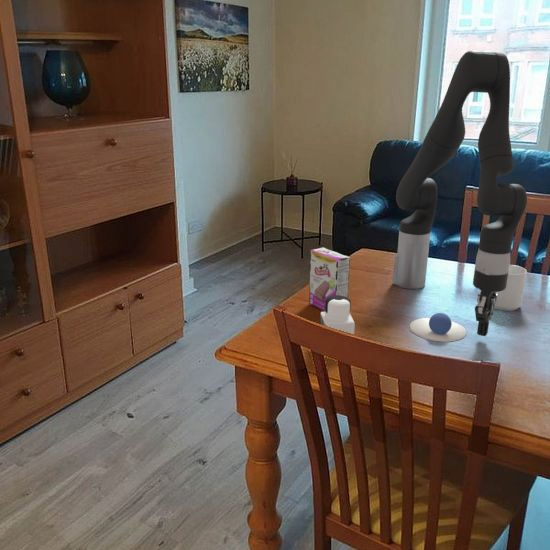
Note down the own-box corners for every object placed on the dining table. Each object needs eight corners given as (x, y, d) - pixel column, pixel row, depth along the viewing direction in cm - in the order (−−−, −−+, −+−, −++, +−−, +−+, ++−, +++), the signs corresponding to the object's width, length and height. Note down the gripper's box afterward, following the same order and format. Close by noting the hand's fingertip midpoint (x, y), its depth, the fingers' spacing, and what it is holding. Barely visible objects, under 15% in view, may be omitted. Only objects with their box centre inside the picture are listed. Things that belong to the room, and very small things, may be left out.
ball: (434, 313, 138) (456, 322, 137) (434, 306, 143) (454, 315, 142) (425, 332, 140) (446, 341, 139) (425, 325, 145) (445, 333, 144)
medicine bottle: (319, 337, 139) (320, 292, 135) (347, 336, 140) (349, 292, 136) (323, 350, 133) (325, 304, 129) (353, 350, 133) (356, 303, 129)
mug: (523, 313, 155) (530, 275, 151) (490, 310, 156) (495, 273, 153) (514, 297, 166) (520, 261, 162) (483, 295, 168) (488, 259, 164)
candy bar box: (307, 304, 159) (309, 249, 154) (320, 300, 162) (323, 246, 157) (334, 317, 151) (337, 259, 146) (348, 313, 154) (351, 256, 148)
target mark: (401, 332, 142) (401, 331, 142) (420, 314, 153) (420, 313, 153) (456, 346, 135) (456, 345, 135) (472, 326, 146) (472, 325, 146)
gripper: (482, 258, 139) (473, 321, 145) (467, 272, 129) (459, 340, 135) (514, 263, 136) (504, 328, 141) (501, 279, 125) (491, 348, 131)
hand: (482, 334), depth 138 cm, fingers closed
